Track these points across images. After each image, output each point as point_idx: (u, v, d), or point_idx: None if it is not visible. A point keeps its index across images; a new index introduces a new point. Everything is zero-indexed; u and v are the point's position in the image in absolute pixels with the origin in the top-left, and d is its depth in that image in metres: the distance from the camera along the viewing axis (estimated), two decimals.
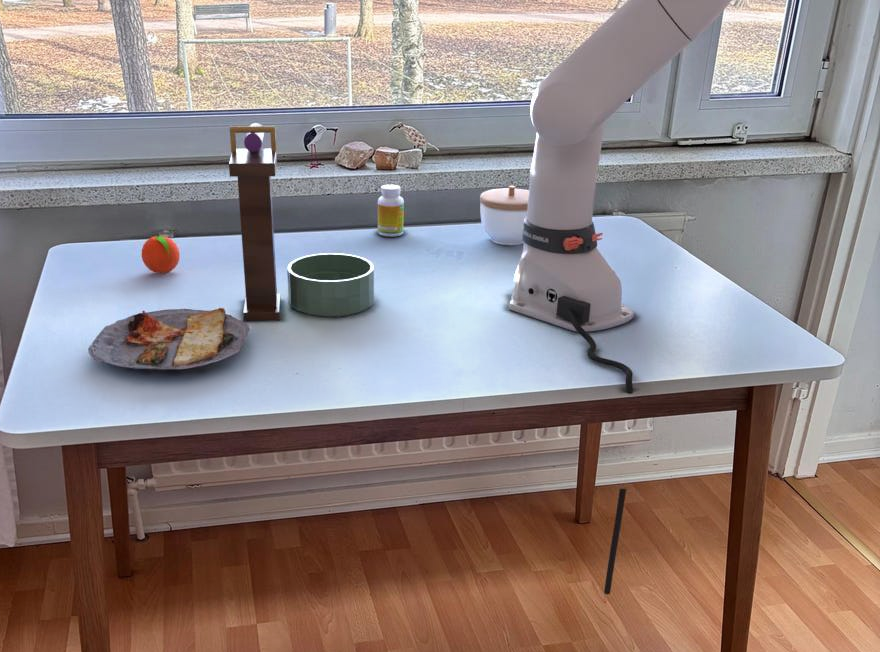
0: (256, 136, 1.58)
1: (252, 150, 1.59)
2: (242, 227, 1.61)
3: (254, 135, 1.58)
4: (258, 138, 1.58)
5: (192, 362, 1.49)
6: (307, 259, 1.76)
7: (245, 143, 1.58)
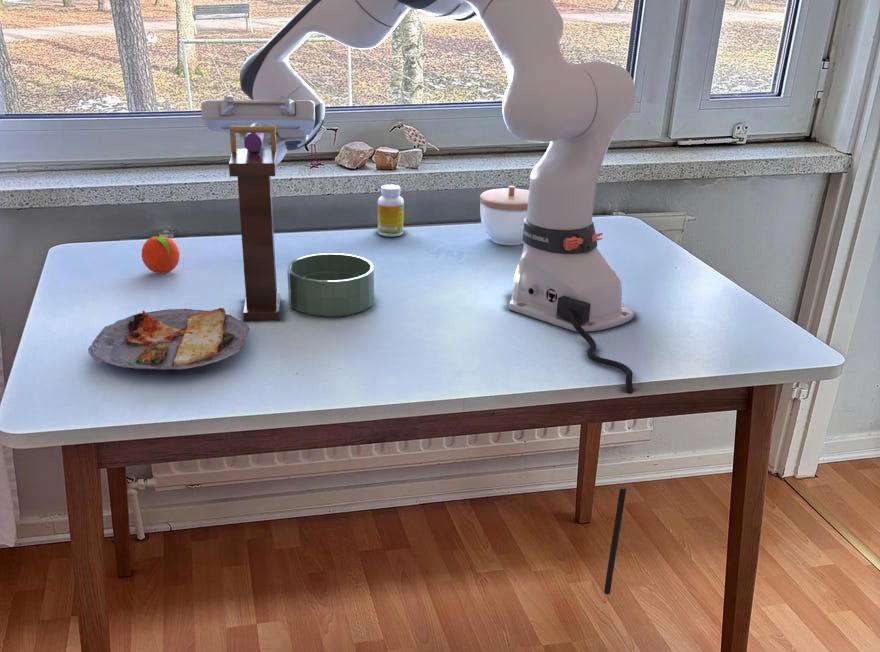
0: (256, 136, 1.58)
1: (252, 150, 1.59)
2: (242, 227, 1.61)
3: (254, 135, 1.58)
4: (258, 138, 1.58)
5: (192, 362, 1.49)
6: (307, 259, 1.76)
7: (245, 143, 1.58)
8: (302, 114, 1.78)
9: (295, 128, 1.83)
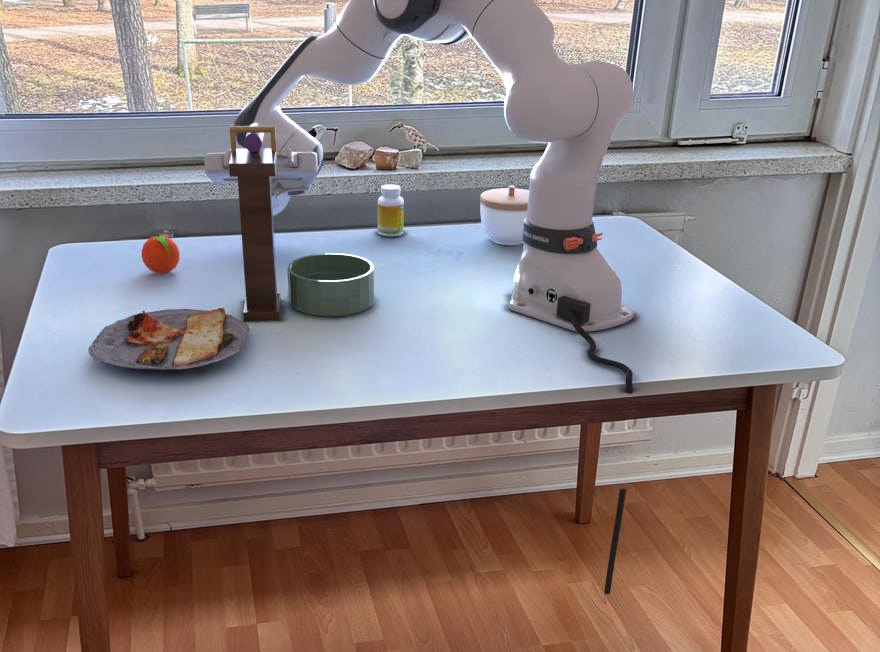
0: (256, 136, 1.58)
1: (252, 150, 1.59)
2: (242, 227, 1.61)
3: (254, 135, 1.58)
4: (258, 138, 1.58)
5: (192, 362, 1.49)
6: (307, 259, 1.76)
7: (245, 143, 1.58)
8: (304, 165, 1.79)
9: (298, 179, 1.84)
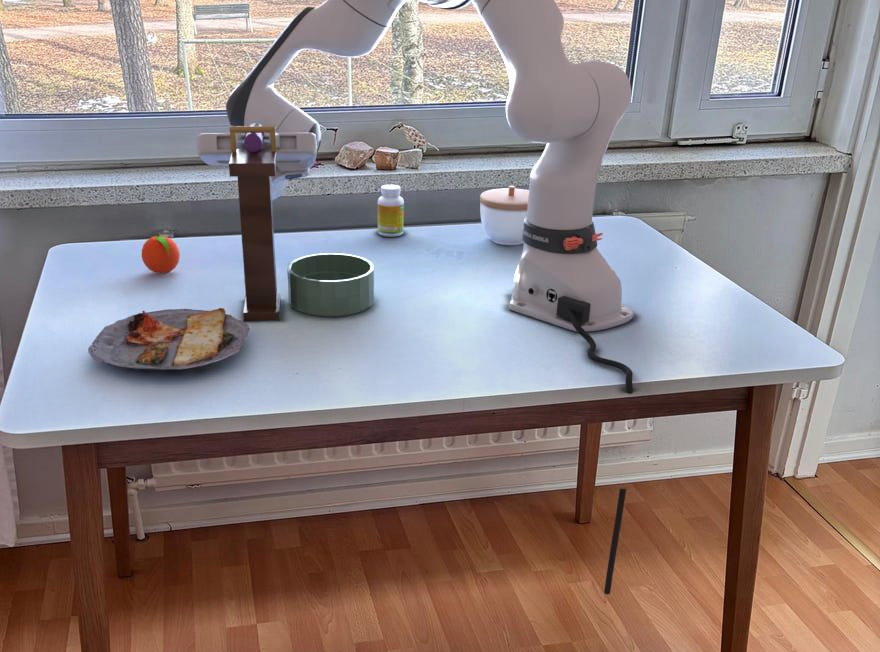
0: (256, 136, 1.58)
1: (252, 150, 1.59)
2: (242, 227, 1.61)
3: (254, 135, 1.58)
4: (258, 138, 1.58)
5: (192, 362, 1.49)
6: (307, 259, 1.76)
7: (245, 143, 1.58)
8: (303, 147, 1.69)
9: (296, 161, 1.75)
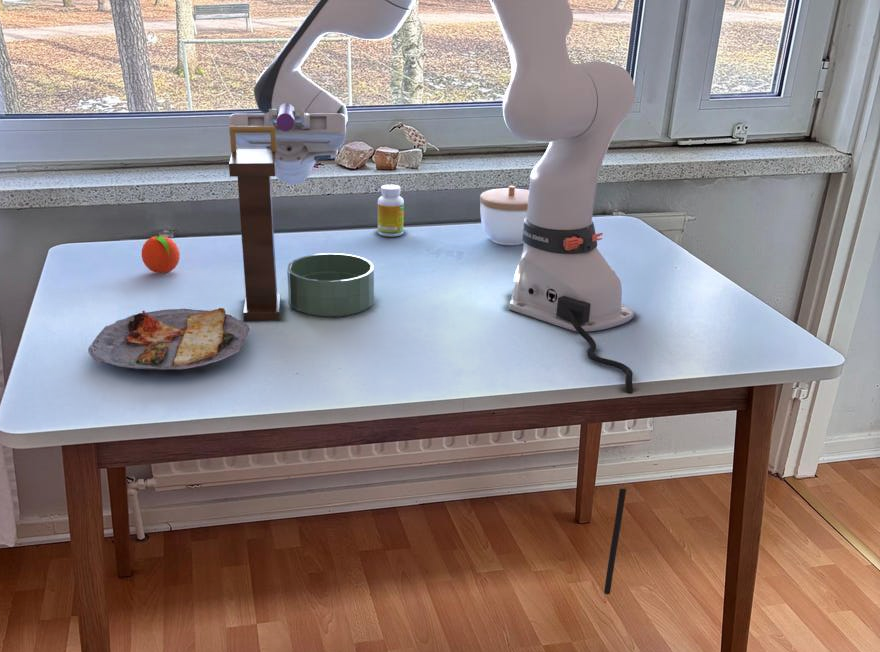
0: (288, 115, 1.61)
1: (284, 129, 1.61)
2: (242, 227, 1.61)
3: (286, 114, 1.60)
4: (290, 117, 1.61)
5: (192, 362, 1.49)
6: (307, 259, 1.76)
7: (277, 122, 1.61)
8: (332, 127, 1.72)
9: (325, 142, 1.77)
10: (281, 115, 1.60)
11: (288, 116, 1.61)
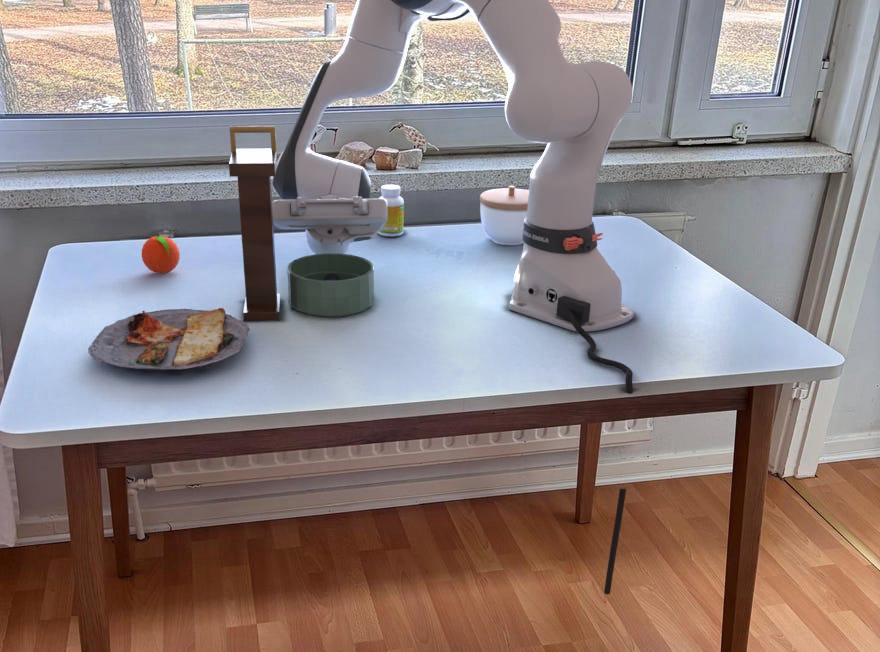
0: None
1: None
2: (242, 227, 1.61)
3: None
4: None
5: (192, 362, 1.49)
6: (307, 259, 1.76)
7: None
8: (374, 213, 1.72)
9: (365, 225, 1.77)
10: None
11: None
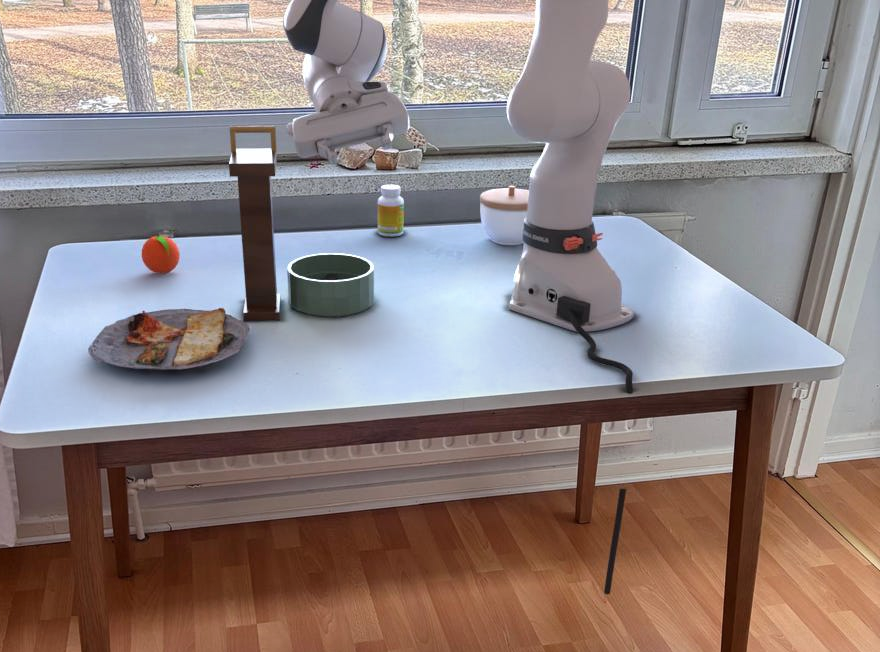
0: None
1: None
2: (242, 227, 1.61)
3: None
4: None
5: (192, 362, 1.49)
6: (307, 259, 1.76)
7: None
8: (398, 130, 1.72)
9: None
10: None
11: None
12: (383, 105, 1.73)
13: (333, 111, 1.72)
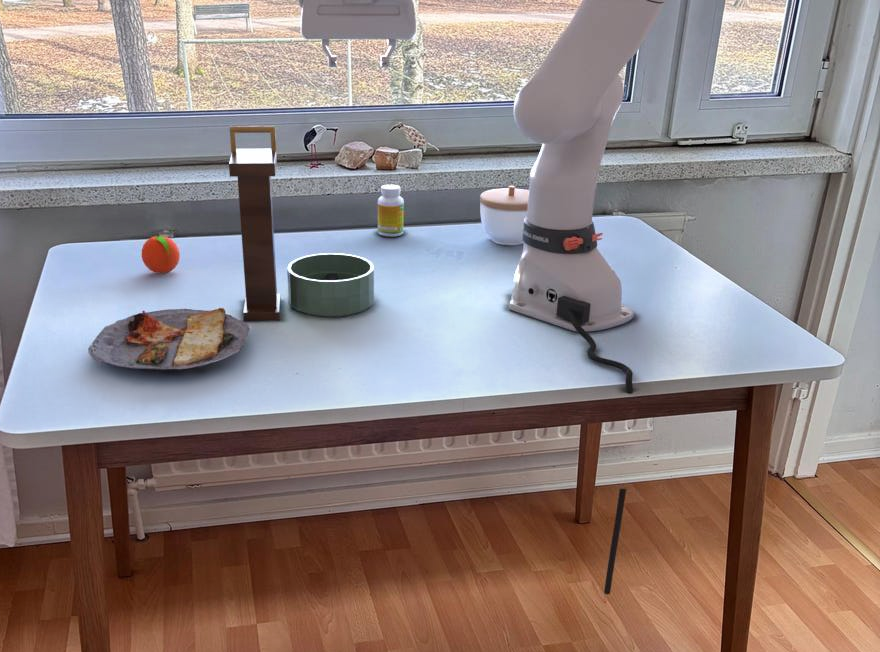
0: None
1: None
2: (242, 227, 1.61)
3: None
4: None
5: (192, 362, 1.49)
6: (307, 259, 1.76)
7: None
8: None
9: None
10: None
11: None
12: (397, 10, 1.73)
13: (347, 2, 1.71)
